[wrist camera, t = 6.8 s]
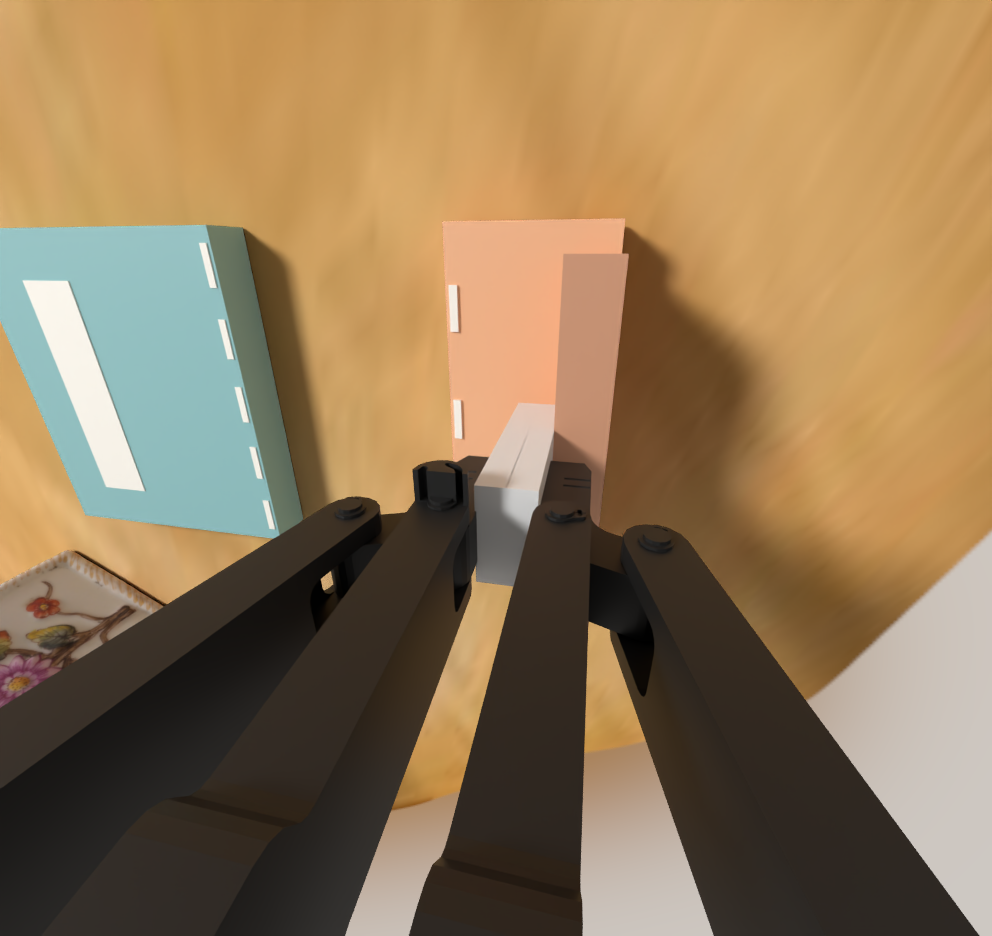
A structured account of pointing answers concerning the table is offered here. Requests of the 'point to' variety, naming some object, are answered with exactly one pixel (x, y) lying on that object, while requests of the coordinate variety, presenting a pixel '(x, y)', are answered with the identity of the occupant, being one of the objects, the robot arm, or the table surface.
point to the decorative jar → (60, 618)
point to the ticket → (152, 372)
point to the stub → (535, 332)
